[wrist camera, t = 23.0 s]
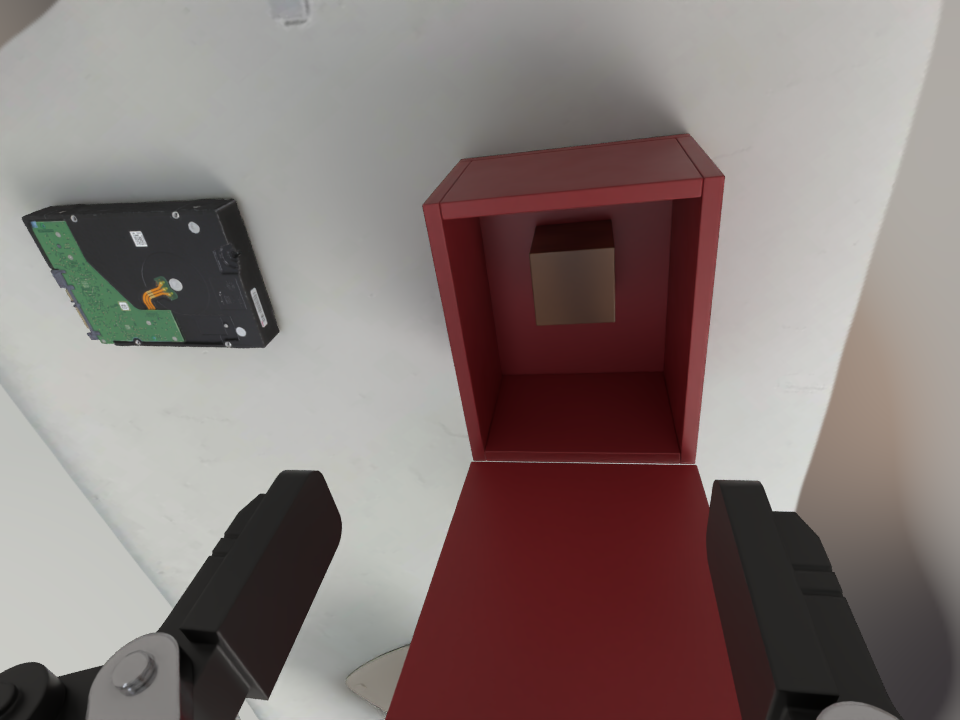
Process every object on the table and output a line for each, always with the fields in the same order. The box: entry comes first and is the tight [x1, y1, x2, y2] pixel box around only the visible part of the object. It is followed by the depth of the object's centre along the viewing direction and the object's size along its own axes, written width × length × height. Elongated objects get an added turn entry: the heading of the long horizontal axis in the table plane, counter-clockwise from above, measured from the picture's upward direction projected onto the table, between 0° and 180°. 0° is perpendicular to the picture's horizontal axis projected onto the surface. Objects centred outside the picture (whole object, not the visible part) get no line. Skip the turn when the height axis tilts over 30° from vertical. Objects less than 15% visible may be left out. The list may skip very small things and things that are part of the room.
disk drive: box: [22, 199, 279, 348], centre depth 37 cm, size 10×3×15 cm
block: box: [529, 220, 615, 326], centre depth 30 cm, size 4×4×4 cm
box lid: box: [385, 462, 742, 720], centre depth 24 cm, size 16×13×5 cm
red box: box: [422, 133, 725, 464], centre depth 30 cm, size 16×13×9 cm
